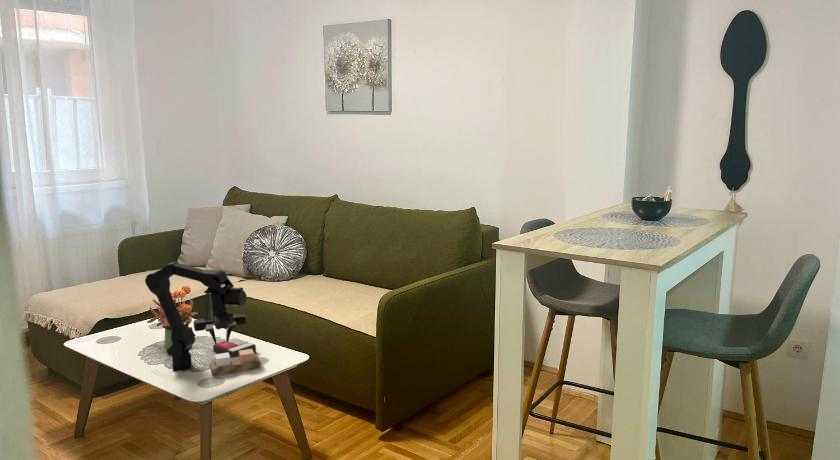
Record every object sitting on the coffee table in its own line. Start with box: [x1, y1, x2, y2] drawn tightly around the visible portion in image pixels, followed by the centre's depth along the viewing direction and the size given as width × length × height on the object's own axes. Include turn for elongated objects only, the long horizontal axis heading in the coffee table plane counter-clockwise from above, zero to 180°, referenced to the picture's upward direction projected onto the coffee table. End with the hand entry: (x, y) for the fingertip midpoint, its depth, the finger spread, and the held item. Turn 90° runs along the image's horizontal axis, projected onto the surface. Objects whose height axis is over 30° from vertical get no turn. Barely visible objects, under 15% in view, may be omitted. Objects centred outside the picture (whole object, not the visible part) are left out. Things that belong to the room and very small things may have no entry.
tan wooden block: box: [239, 349, 255, 363], centre depth 242 cm, size 5×5×4 cm
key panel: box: [209, 353, 262, 377], centre depth 241 cm, size 18×8×3 cm, turn 114°
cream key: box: [214, 353, 231, 367], centre depth 239 cm, size 5×5×4 cm
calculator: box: [212, 337, 257, 358], centre depth 258 cm, size 11×4×15 cm
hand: (221, 343), depth 237 cm, fingers open, 4 cm apart
